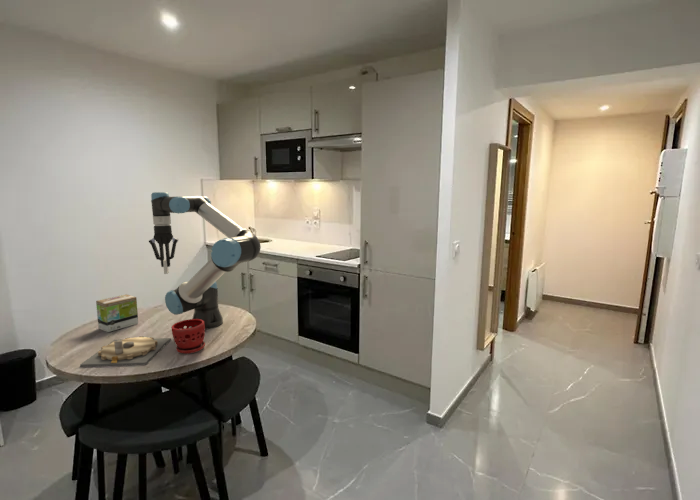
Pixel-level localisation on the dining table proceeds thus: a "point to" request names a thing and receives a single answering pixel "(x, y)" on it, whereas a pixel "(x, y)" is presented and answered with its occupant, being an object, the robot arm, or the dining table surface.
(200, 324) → the plant pot
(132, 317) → the tea box
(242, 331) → the dining table surface
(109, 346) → the sprocket
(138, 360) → the sprocket base
